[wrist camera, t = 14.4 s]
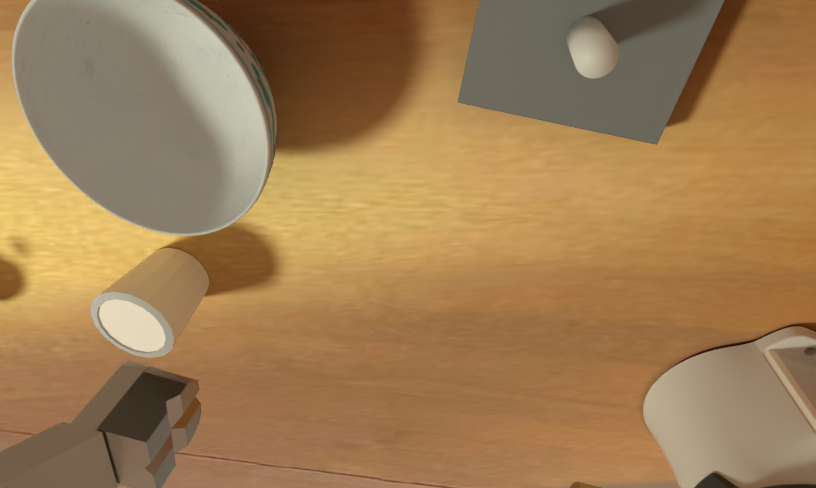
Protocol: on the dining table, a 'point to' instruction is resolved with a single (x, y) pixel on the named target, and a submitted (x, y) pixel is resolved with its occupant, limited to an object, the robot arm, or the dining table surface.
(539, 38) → the stand board
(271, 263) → the dining table surface
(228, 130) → the chinaware
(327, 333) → the dining table surface
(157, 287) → the shot glass
